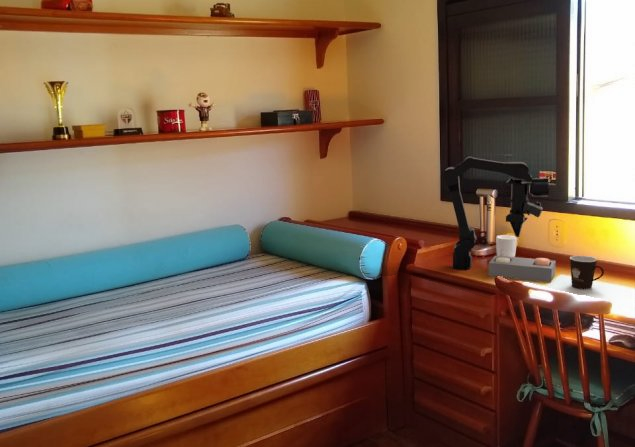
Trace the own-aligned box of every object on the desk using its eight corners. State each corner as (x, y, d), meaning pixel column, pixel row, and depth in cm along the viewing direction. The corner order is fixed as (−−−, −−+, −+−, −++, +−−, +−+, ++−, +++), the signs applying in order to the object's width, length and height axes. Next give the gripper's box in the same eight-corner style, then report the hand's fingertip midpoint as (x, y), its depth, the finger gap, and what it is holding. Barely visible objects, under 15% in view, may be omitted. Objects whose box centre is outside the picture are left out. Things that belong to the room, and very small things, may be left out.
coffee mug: (563, 283, 225) (565, 256, 223) (587, 282, 226) (589, 255, 224) (580, 293, 214) (581, 264, 212) (604, 292, 215) (606, 263, 213)
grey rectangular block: (488, 275, 237) (488, 262, 236) (494, 267, 248) (495, 255, 247) (551, 282, 227) (551, 268, 226) (554, 273, 238) (555, 260, 237)
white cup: (515, 259, 260) (516, 235, 258) (516, 264, 253) (517, 239, 251) (495, 258, 262) (495, 234, 260) (495, 263, 254) (496, 238, 252)
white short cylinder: (494, 271, 239) (494, 259, 238) (497, 268, 244) (497, 256, 243) (508, 272, 237) (508, 261, 236) (510, 269, 241) (511, 258, 241)
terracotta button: (533, 272, 233) (534, 260, 232) (535, 268, 237) (536, 257, 236) (548, 273, 231) (548, 261, 230) (549, 270, 235) (550, 258, 234)
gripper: (538, 200, 227) (536, 243, 230) (545, 193, 243) (543, 233, 246) (506, 199, 232) (504, 241, 235) (514, 192, 248) (513, 231, 251)
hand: (517, 236), depth 242 cm, fingers closed
